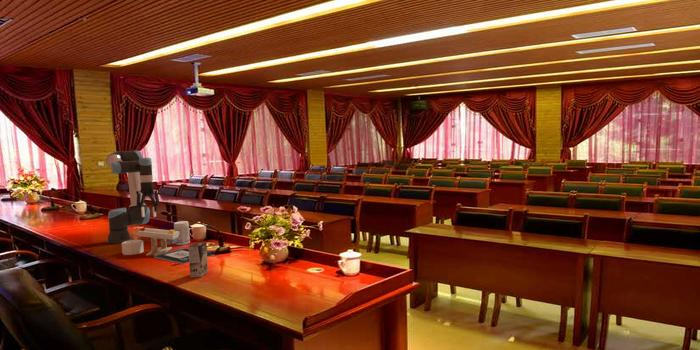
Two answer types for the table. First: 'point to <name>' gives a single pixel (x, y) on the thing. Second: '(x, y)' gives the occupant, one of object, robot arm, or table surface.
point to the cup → (132, 247)
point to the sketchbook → (177, 256)
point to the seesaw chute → (159, 234)
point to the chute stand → (160, 249)
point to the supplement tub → (182, 232)
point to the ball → (171, 231)
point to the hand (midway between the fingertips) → (149, 216)
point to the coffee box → (198, 259)
